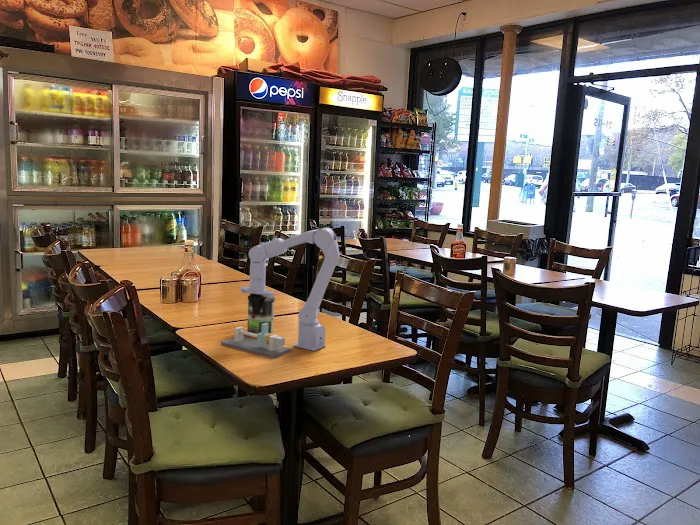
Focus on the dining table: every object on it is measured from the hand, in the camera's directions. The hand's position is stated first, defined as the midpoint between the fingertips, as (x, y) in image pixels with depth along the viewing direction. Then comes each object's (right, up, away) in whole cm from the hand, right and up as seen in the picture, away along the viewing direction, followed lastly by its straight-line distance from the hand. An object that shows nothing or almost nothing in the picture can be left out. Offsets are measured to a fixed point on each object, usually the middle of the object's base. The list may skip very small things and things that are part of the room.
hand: (256, 314), depth 206 cm
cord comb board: (+1, -12, -6) cm, 13 cm away
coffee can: (-1, -9, +13) cm, 16 cm away
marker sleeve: (+4, -9, -8) cm, 13 cm away
